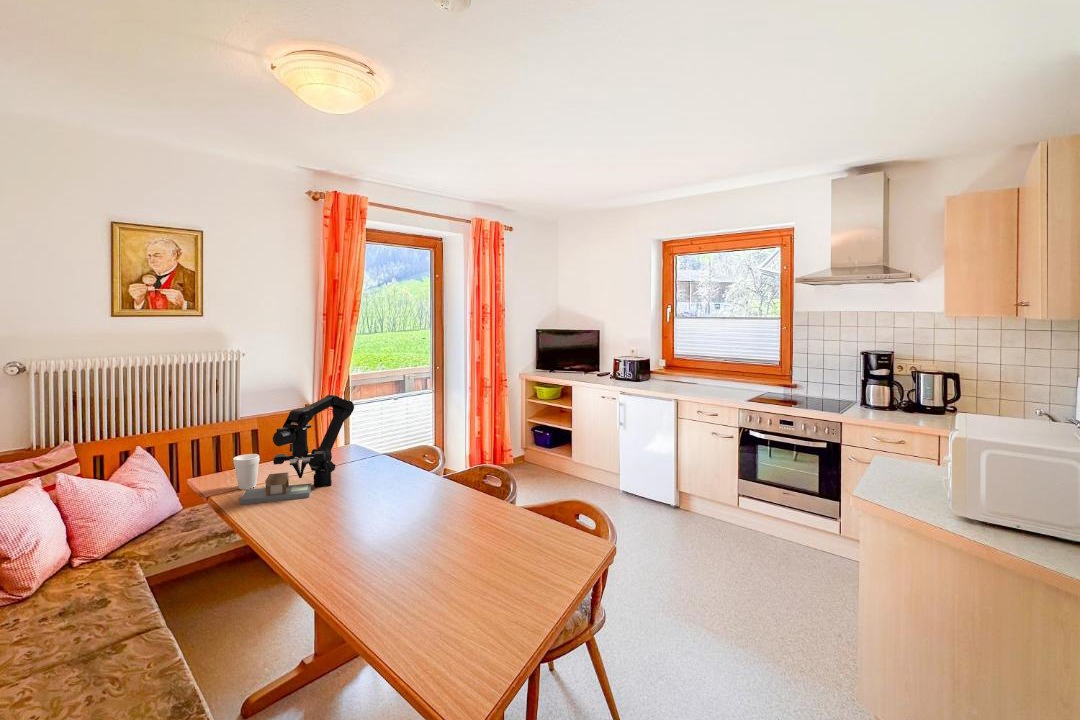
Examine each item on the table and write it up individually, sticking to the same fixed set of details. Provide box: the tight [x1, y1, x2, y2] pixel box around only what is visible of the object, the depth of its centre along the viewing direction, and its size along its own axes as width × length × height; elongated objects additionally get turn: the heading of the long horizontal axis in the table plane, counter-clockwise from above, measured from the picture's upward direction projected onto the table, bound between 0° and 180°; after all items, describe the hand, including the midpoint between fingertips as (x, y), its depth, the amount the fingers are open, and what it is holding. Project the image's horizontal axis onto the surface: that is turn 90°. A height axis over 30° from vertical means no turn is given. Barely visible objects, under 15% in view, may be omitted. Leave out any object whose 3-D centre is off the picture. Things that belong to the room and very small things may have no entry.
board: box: [240, 483, 313, 506], centre depth 197 cm, size 24×12×2 cm, turn 111°
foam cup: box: [232, 453, 260, 490], centre depth 207 cm, size 10×9×13 cm
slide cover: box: [265, 471, 290, 495], centre depth 197 cm, size 7×9×6 cm
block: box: [270, 485, 282, 494], centre depth 197 cm, size 4×4×6 cm
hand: (300, 477), depth 200 cm, fingers closed
